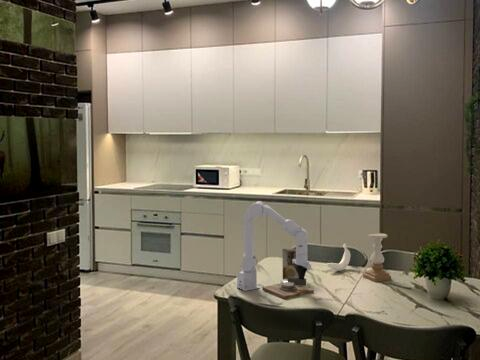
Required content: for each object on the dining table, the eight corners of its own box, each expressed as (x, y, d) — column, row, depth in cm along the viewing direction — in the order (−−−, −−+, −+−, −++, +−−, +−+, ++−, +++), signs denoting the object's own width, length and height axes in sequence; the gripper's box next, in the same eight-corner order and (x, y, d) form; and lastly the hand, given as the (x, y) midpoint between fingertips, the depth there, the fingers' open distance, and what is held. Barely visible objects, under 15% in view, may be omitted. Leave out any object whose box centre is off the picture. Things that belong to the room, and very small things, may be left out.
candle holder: (391, 279, 277) (392, 235, 275) (374, 282, 273) (375, 237, 271) (379, 274, 287) (379, 232, 285) (362, 276, 283) (362, 233, 281)
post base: (285, 299, 245) (285, 294, 245) (262, 290, 260) (262, 285, 260) (313, 292, 255) (313, 288, 255) (290, 284, 270) (290, 279, 270)
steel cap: (280, 287, 255) (280, 279, 254) (281, 283, 262) (281, 276, 261) (305, 289, 252) (305, 281, 252) (306, 285, 259) (306, 277, 259)
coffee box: (299, 277, 282) (299, 248, 281) (299, 281, 276) (299, 251, 274) (282, 277, 283) (282, 248, 281) (282, 280, 276) (282, 250, 275)
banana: (326, 272, 292) (326, 247, 291) (345, 266, 306) (345, 242, 304) (333, 274, 289) (333, 248, 287) (352, 268, 302) (352, 243, 301)
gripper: (316, 255, 252) (316, 283, 253) (300, 249, 265) (300, 275, 266) (304, 257, 249) (304, 285, 250) (288, 251, 262) (288, 277, 263)
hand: (301, 280), depth 258 cm, fingers closed, pressing on steel cap
